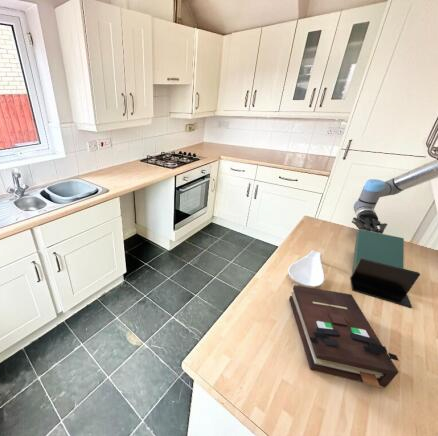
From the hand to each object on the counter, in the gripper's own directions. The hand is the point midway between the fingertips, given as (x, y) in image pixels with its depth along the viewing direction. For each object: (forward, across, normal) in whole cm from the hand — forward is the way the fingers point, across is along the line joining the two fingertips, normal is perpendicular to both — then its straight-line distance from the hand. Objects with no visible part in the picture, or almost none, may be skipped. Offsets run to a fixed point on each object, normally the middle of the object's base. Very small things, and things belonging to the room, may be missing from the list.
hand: (375, 239), depth 103 cm
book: (+9, 0, -3) cm, 10 cm away
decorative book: (+55, +16, -8) cm, 58 cm away
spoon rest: (+27, +22, -9) cm, 36 cm away
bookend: (+26, 0, -8) cm, 27 cm away
